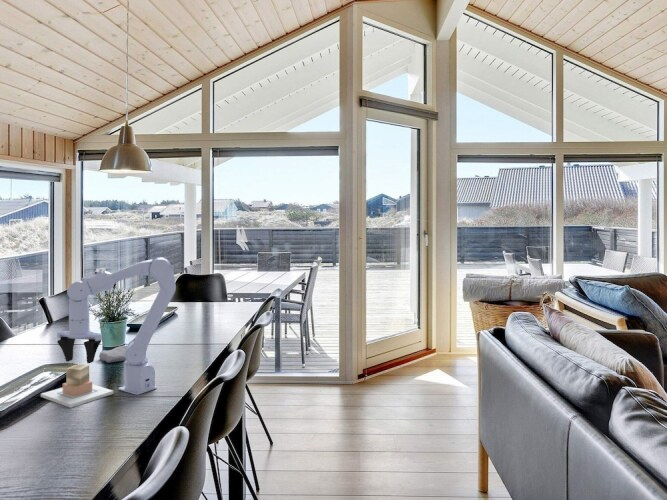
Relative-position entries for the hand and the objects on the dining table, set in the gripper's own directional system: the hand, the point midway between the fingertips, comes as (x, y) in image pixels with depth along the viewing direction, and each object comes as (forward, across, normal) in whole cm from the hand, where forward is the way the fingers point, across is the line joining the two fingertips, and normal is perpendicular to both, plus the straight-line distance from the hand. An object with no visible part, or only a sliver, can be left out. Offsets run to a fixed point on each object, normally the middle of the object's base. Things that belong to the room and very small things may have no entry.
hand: (79, 361), depth 153 cm
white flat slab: (+10, 0, +2) cm, 11 cm away
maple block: (+6, 0, +1) cm, 7 cm away
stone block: (+11, +12, -38) cm, 41 cm away
